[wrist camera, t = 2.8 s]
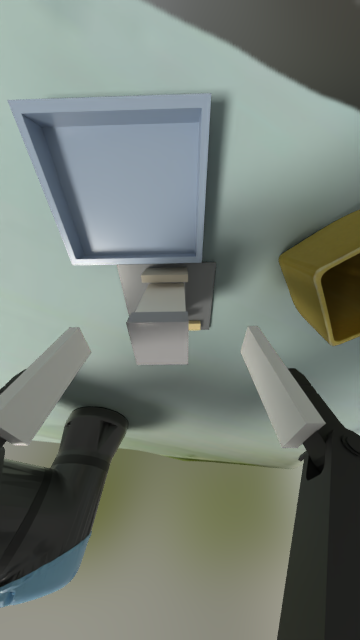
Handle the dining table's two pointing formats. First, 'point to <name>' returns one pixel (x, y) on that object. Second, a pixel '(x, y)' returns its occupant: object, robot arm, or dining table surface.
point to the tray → (122, 174)
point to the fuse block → (192, 274)
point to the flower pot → (327, 279)
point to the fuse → (160, 325)
